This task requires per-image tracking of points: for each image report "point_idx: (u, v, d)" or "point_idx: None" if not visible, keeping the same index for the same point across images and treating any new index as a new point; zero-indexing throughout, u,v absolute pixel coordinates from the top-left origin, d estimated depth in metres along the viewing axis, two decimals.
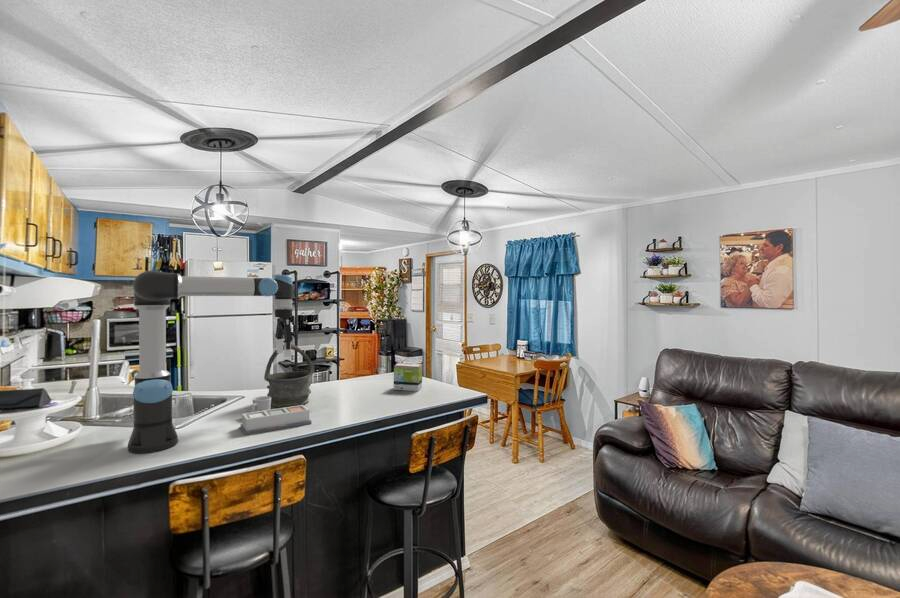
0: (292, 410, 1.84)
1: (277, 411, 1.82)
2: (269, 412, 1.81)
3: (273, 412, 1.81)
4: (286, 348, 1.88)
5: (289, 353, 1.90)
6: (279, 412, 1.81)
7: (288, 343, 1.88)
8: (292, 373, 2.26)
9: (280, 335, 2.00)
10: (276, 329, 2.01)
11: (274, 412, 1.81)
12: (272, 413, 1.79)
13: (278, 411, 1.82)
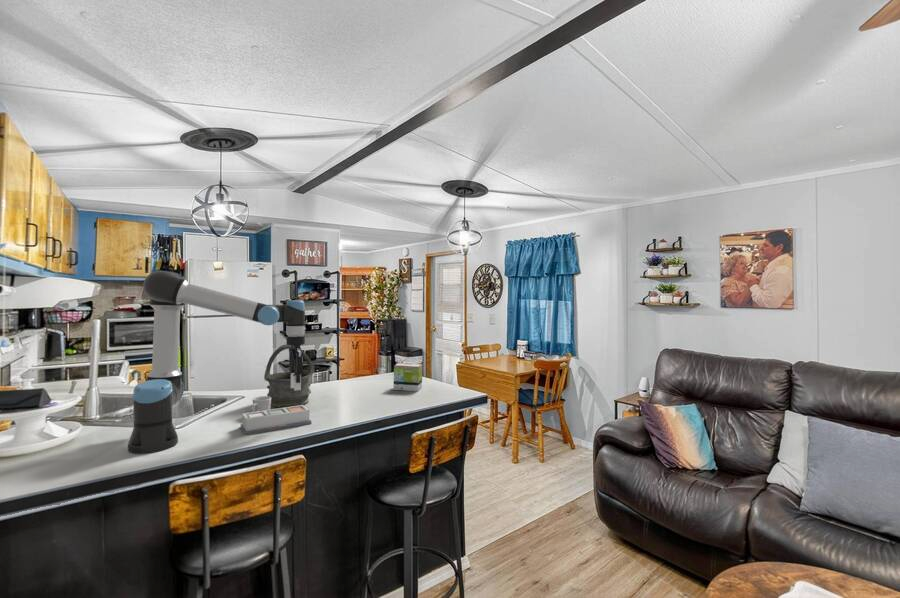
0: (292, 410, 1.84)
1: (277, 411, 1.82)
2: (269, 412, 1.81)
3: (273, 412, 1.81)
4: (296, 381, 1.82)
5: (299, 386, 1.83)
6: (279, 412, 1.81)
7: (298, 376, 1.82)
8: None
9: (294, 367, 1.87)
10: (289, 361, 1.89)
11: (274, 412, 1.81)
12: (272, 413, 1.79)
13: (278, 411, 1.82)
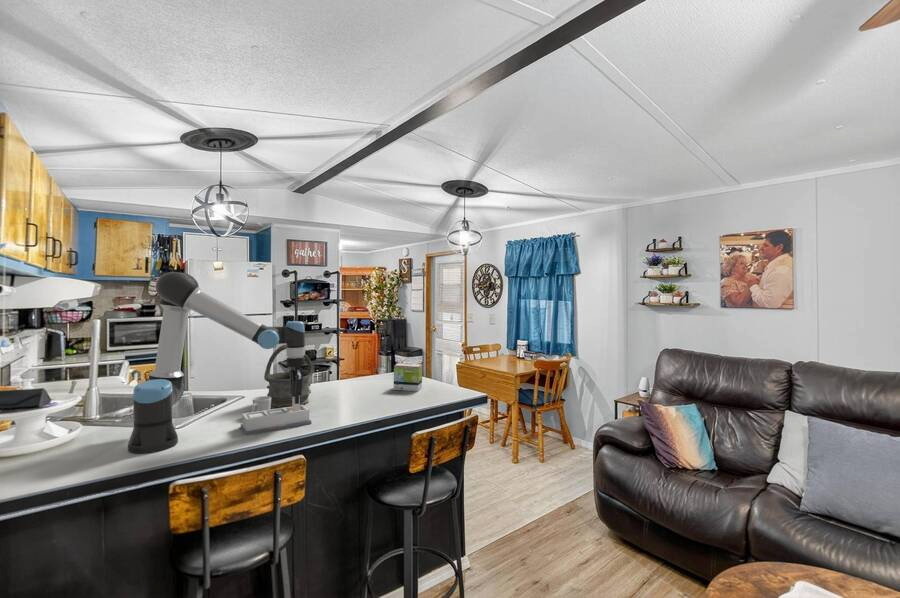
0: None
1: (277, 411, 1.82)
2: (269, 412, 1.81)
3: (273, 412, 1.81)
4: (295, 402, 1.84)
5: (298, 407, 1.85)
6: (279, 412, 1.81)
7: (297, 397, 1.84)
8: None
9: None
10: (290, 383, 1.88)
11: (274, 412, 1.81)
12: (272, 413, 1.79)
13: (278, 411, 1.82)
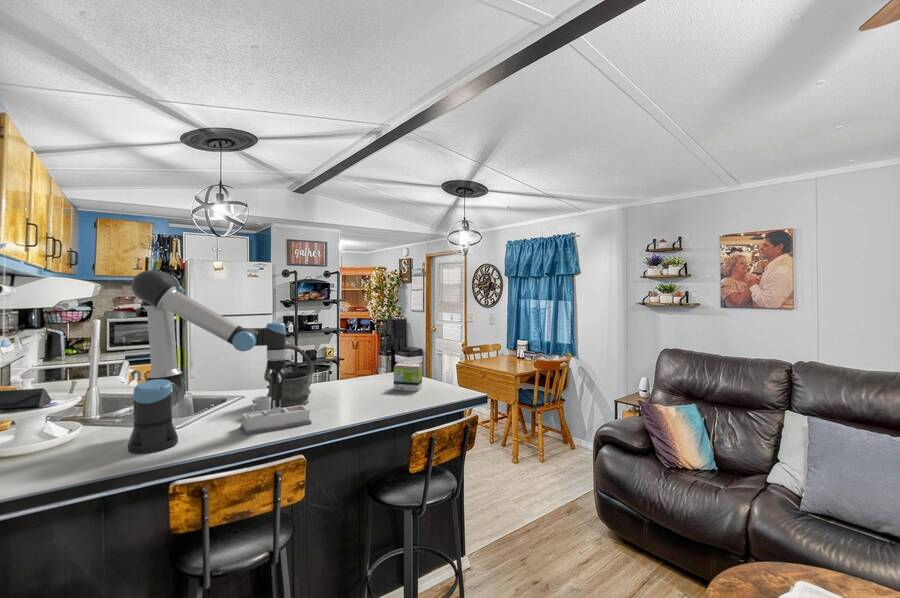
0: None
1: None
2: None
3: None
4: (275, 406, 1.80)
5: (279, 411, 1.81)
6: None
7: (277, 401, 1.79)
8: (292, 373, 2.26)
9: None
10: (271, 386, 1.84)
11: None
12: None
13: None
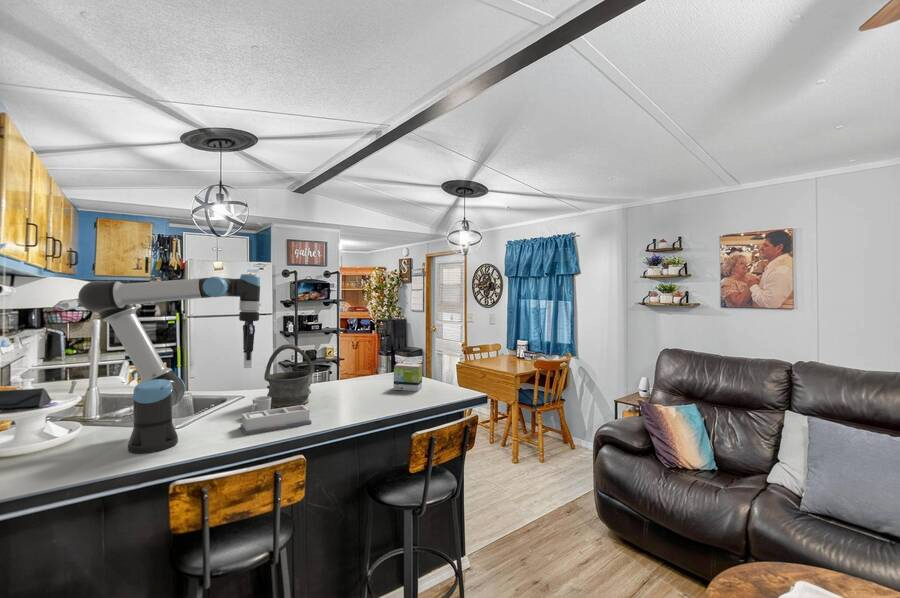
0: None
1: None
2: None
3: None
4: (246, 359, 1.76)
5: (249, 364, 1.78)
6: None
7: (248, 353, 1.76)
8: (292, 373, 2.26)
9: None
10: (243, 340, 1.80)
11: None
12: None
13: None
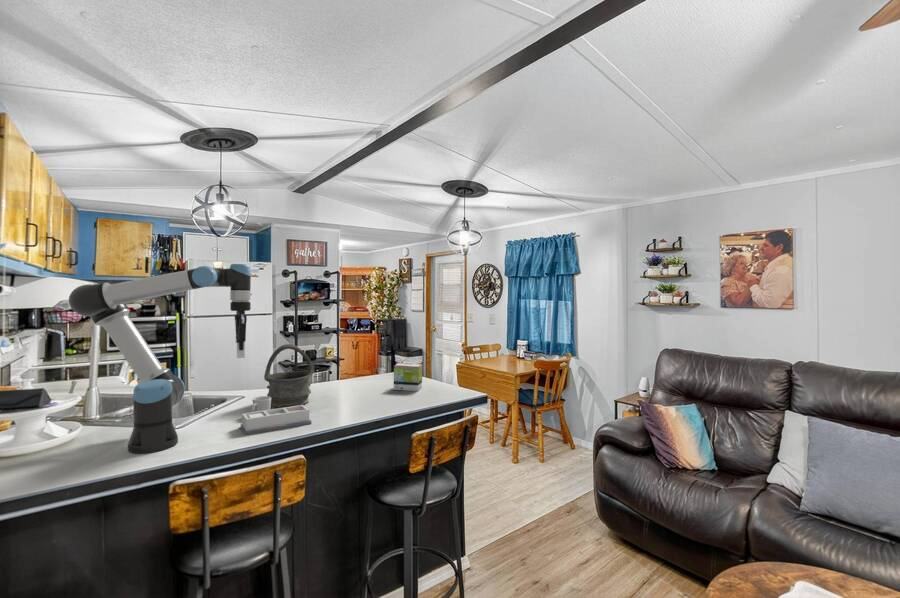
0: None
1: None
2: None
3: None
4: (239, 349, 1.76)
5: (243, 354, 1.77)
6: None
7: (241, 343, 1.76)
8: (292, 373, 2.26)
9: None
10: None
11: None
12: None
13: None
